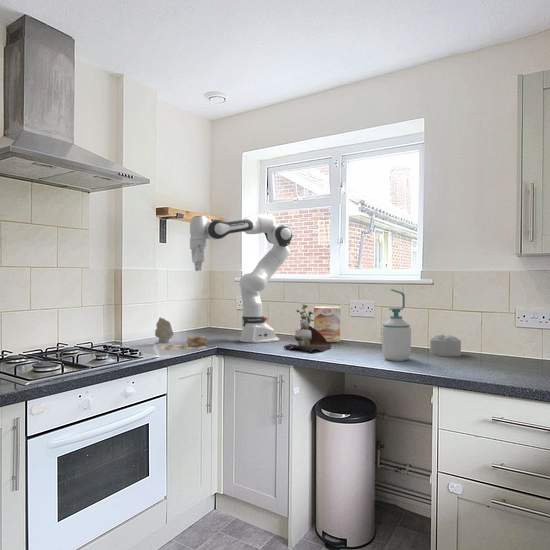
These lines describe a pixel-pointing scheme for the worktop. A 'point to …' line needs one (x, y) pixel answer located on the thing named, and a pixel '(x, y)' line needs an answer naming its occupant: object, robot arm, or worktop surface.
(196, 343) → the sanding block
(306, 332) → the potted plant
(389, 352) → the soap bottle
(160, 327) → the stone tool
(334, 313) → the coffeecake box
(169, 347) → the board
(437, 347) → the lumpy-topped squat cylinder
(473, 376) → the worktop surface
